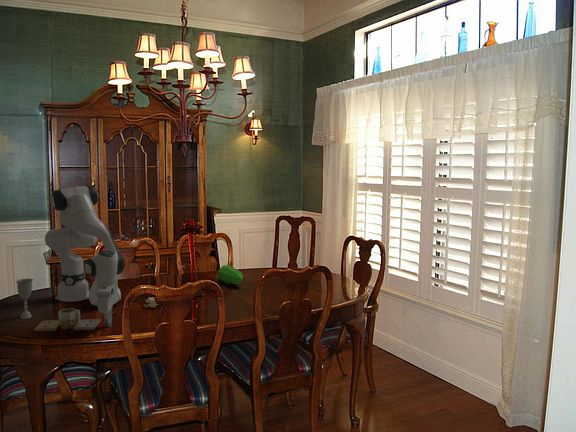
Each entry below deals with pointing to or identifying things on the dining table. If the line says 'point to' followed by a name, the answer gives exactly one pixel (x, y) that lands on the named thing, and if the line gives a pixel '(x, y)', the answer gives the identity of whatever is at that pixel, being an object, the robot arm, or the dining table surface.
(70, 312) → the hinge
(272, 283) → the dining table surface
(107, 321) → the pin
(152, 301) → the cat figure
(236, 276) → the green ridged rounded cylinder
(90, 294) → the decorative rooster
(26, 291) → the chalice
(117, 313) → the dining table surface
